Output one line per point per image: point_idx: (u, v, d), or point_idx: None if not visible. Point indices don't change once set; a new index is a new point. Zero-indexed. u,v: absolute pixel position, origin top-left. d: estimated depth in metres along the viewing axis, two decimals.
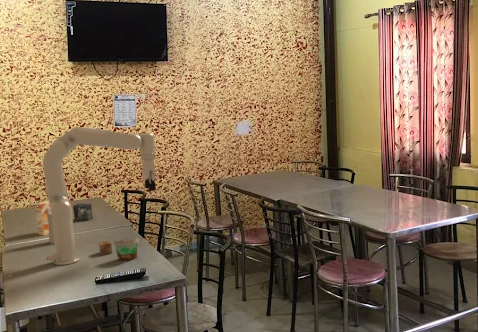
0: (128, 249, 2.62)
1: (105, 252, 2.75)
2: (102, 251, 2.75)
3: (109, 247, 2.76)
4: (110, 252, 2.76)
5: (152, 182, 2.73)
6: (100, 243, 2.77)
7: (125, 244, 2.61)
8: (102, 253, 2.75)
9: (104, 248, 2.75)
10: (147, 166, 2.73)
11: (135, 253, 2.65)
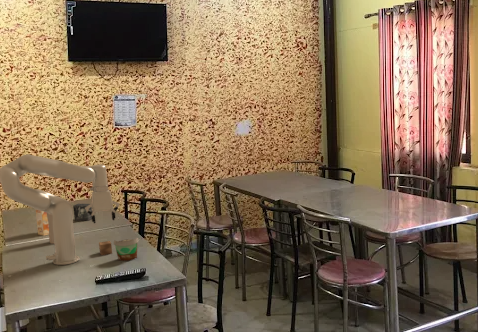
0: (128, 249, 2.62)
1: (105, 252, 2.75)
2: (102, 251, 2.75)
3: (109, 247, 2.76)
4: (110, 252, 2.76)
5: None
6: (100, 243, 2.77)
7: (125, 244, 2.61)
8: (102, 253, 2.75)
9: (104, 248, 2.75)
10: (111, 196, 2.75)
11: (135, 253, 2.65)
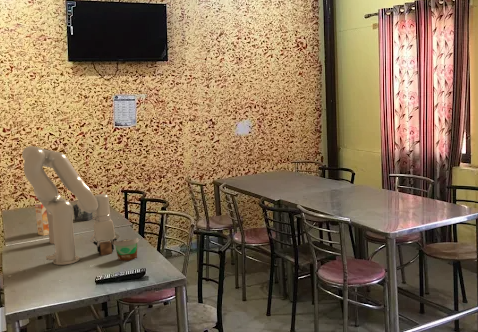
0: (128, 249, 2.62)
1: (105, 252, 2.75)
2: (102, 251, 2.75)
3: (109, 247, 2.76)
4: (110, 252, 2.76)
5: None
6: (100, 243, 2.77)
7: (125, 244, 2.61)
8: (102, 253, 2.75)
9: (104, 248, 2.75)
10: (113, 225, 2.77)
11: (135, 253, 2.65)
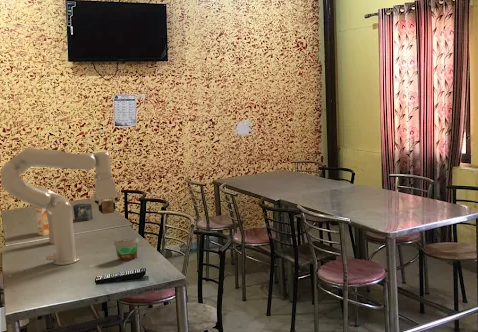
0: (128, 249, 2.62)
1: (107, 211, 2.70)
2: (104, 210, 2.69)
3: (111, 206, 2.70)
4: (112, 211, 2.71)
5: None
6: (101, 202, 2.71)
7: (125, 244, 2.61)
8: (104, 212, 2.69)
9: (106, 207, 2.69)
10: None
11: (135, 253, 2.65)
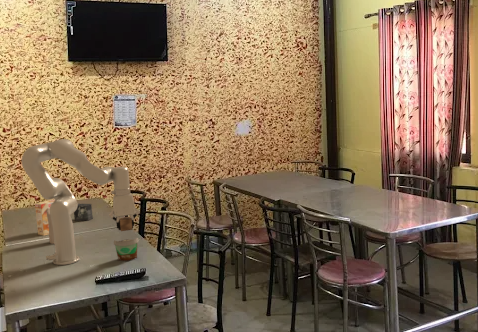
0: (128, 249, 2.62)
1: (125, 228, 2.60)
2: (122, 227, 2.59)
3: (130, 223, 2.61)
4: (130, 228, 2.61)
5: None
6: (120, 219, 2.61)
7: (125, 244, 2.61)
8: (122, 229, 2.59)
9: (124, 224, 2.59)
10: (133, 200, 2.61)
11: (135, 253, 2.65)
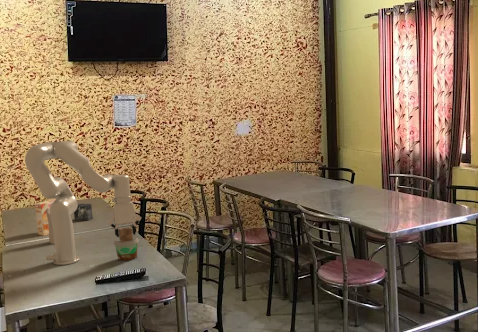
0: (128, 249, 2.62)
1: (125, 239, 2.61)
2: (122, 237, 2.60)
3: (130, 233, 2.61)
4: (131, 239, 2.62)
5: None
6: (120, 229, 2.62)
7: (125, 244, 2.61)
8: (122, 240, 2.60)
9: (124, 234, 2.60)
10: None
11: (135, 253, 2.65)
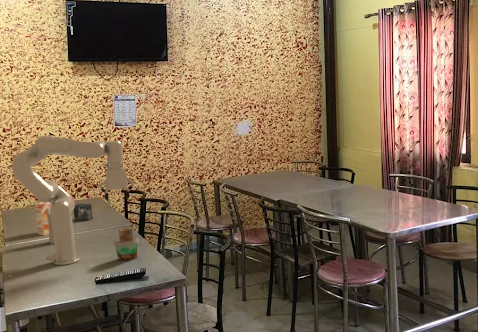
0: (128, 249, 2.62)
1: (125, 239, 2.61)
2: (122, 237, 2.60)
3: (130, 233, 2.61)
4: (131, 239, 2.62)
5: None
6: (120, 229, 2.62)
7: (125, 244, 2.61)
8: (122, 240, 2.60)
9: (124, 234, 2.60)
10: None
11: (135, 253, 2.65)
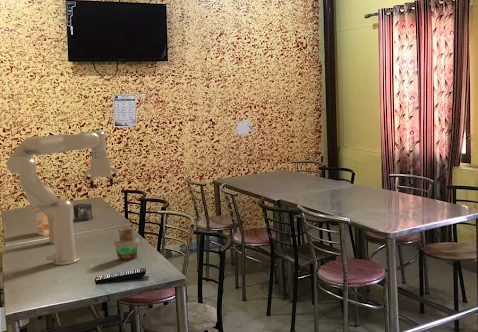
0: (128, 249, 2.62)
1: (125, 238, 2.61)
2: (122, 237, 2.60)
3: (130, 233, 2.61)
4: (131, 239, 2.62)
5: None
6: (120, 229, 2.62)
7: (125, 244, 2.61)
8: (122, 240, 2.60)
9: (124, 234, 2.60)
10: (109, 162, 2.80)
11: (135, 253, 2.65)
